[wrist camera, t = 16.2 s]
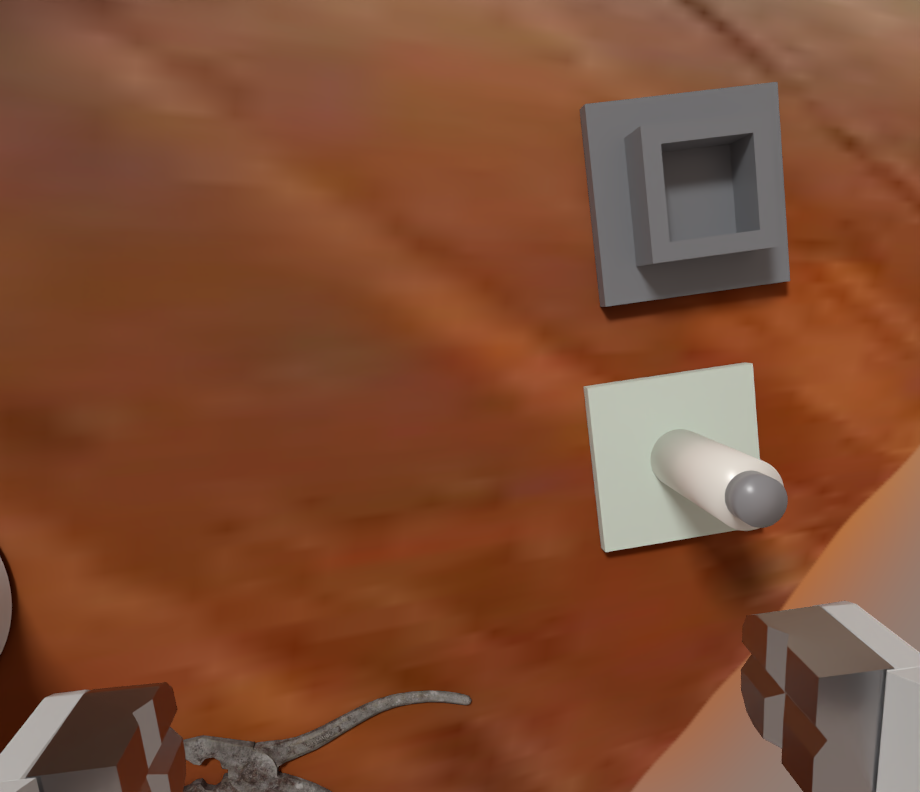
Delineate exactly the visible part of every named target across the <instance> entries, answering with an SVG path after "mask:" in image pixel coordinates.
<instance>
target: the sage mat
mask: <svg viewBox="0 0 920 792" xmlns="http://www.w3.org/2000/svg"><path fill="white" fill-rule="evenodd" d="M584 395H585V404H586V413H587V422H588V431H589V440H590V450H591V459H592V468H593V477H594V486H595V495H596V504H597V513H598V522H599V532H600V541H601V548H602V549H603V550H604V551H605V552H610V551H616V550H622V549H628V548H634V547H640V546H646V545H652V544H658V543H664V542H670V541H675V540H681V539H687V538H693V537H699V536H705V535H711V534H717V533H723V532H729V531H735V530H737V529H734V528H732V527H730V526H728V525H726V524H725V523H723V522H722V521H720V520H719V519H717V518H716V517H714V516H713V515H711V514H710V513H708V512H707V511H705V510H704V509H702V508H701V507H699V506H698V505H696V504H695V503H693V502H691V501H690V500H688V499H687V498H685V497H684V496H682V495H681V494H679V493H678V492H676V491H675V490H673V489H672V488H670V487H669V486H667V485H666V484H664V483H663V482H661V481H660V480H659V479H658V478H657V477H656V476H655V474H654V473H653V470H652V467H651V462H650V458H651V452H652V449H653V447H654V445H655V443H656V442H657V440H658V439H659V438H660V437H661V436H662V435H664V434H665V433H667V432H669V431H672V430H675V429H686V430H690V431H692V432H695V433H697V434H699V435H702V436H704V437H707V438H709V439H711V440H714V441H716V442H719V443H721V444H723V445H726V446H728V447H731V448H733V449H735V450H738V451H740V452H743V453H745V454H747V455H750V456H752V457H755V458H757V459H759V460H760V457H759V444H758V430H757V416H756V403H755V389H754V375H753V364H752V363H739V364H732V365H725V366H719V367H712V368H705V369H698V370H692V371H685V372H678V373H671V374H665V375H658V376H651V377H645V378H638V379H631V380H624V381H618V382H611V383H604V384H597V385H591V386H584Z"/></svg>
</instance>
